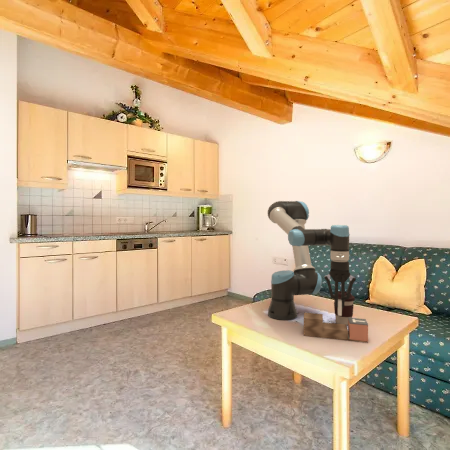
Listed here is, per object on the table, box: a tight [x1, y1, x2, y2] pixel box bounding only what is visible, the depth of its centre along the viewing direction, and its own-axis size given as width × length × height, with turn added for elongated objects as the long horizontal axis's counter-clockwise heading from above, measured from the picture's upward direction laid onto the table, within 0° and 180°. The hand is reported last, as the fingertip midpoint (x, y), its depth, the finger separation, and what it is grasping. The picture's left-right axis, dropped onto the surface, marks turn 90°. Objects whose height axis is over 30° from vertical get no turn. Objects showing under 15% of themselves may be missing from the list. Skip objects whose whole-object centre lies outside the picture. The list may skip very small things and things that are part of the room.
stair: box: [303, 312, 369, 344], centre depth 129 cm, size 26×8×8 cm, turn 72°
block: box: [347, 317, 369, 342], centre depth 126 cm, size 7×7×7 cm
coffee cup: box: [333, 290, 356, 326], centre depth 144 cm, size 10×10×15 cm
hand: (339, 314), depth 128 cm, fingers closed
